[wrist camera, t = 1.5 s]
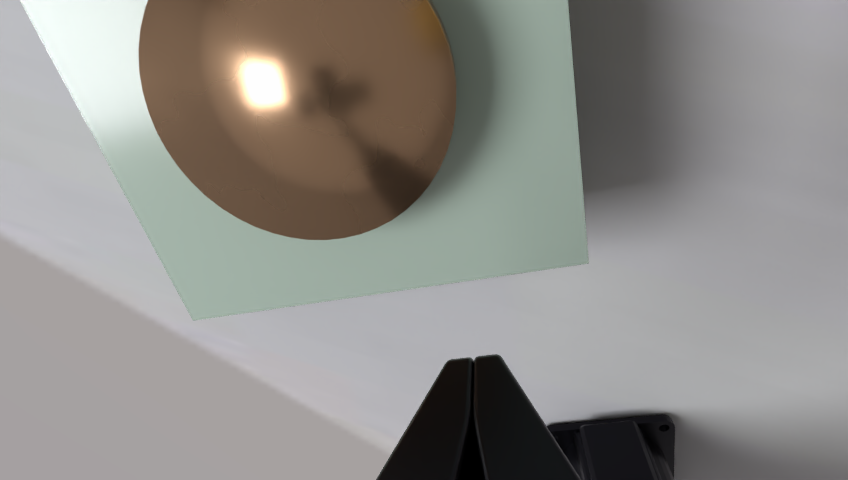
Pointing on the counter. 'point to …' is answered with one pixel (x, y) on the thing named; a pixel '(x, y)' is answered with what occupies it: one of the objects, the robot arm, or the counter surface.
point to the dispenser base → (392, 242)
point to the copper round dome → (302, 106)
